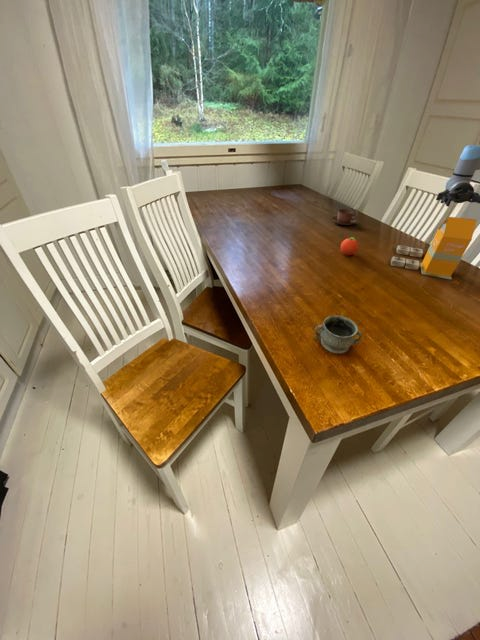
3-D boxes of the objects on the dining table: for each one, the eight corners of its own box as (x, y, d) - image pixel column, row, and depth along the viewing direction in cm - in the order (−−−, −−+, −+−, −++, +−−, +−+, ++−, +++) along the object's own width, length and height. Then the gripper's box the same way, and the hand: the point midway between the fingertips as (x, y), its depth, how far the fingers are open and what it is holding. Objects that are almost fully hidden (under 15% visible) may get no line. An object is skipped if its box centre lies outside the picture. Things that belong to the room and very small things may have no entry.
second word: (448, 268, 108) (450, 263, 106) (451, 279, 100) (454, 274, 99) (391, 257, 114) (393, 253, 113) (390, 268, 107) (392, 263, 106)
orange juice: (450, 277, 101) (481, 223, 89) (424, 273, 104) (450, 220, 91) (445, 267, 107) (473, 216, 95) (420, 264, 109) (445, 213, 97)
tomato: (341, 248, 121) (345, 232, 116) (357, 252, 118) (362, 236, 114) (337, 255, 115) (341, 239, 111) (354, 259, 113) (359, 242, 108)
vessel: (356, 336, 76) (363, 318, 72) (359, 359, 69) (367, 341, 65) (312, 329, 78) (316, 311, 74) (311, 350, 71) (316, 332, 67)
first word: (420, 253, 118) (422, 248, 116) (421, 257, 115) (423, 253, 113) (396, 249, 121) (398, 244, 119) (396, 253, 118) (398, 248, 116)
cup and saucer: (352, 220, 150) (355, 208, 146) (356, 227, 141) (360, 215, 137) (330, 218, 151) (333, 207, 147) (332, 226, 142) (335, 214, 138)
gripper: (491, 204, 113) (506, 220, 98) (423, 197, 121) (428, 211, 106) (502, 185, 109) (519, 198, 94) (431, 179, 117) (436, 190, 101)
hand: (470, 205), depth 100 cm, fingers open, 13 cm apart
